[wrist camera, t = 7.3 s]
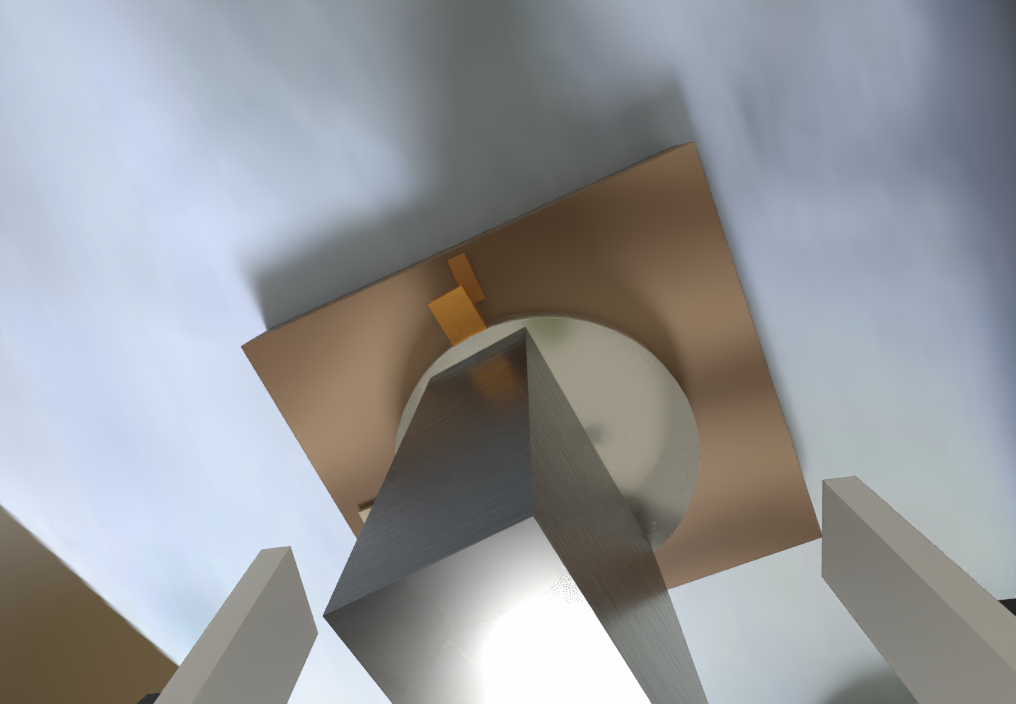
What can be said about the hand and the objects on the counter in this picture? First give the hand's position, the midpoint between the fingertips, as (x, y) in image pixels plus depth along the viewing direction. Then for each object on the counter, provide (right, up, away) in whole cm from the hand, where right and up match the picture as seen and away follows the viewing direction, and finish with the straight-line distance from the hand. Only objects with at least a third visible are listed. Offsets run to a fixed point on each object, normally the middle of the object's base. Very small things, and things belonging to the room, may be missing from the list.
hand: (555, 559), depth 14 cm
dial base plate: (0, +2, +8) cm, 8 cm away
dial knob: (0, +2, +5) cm, 6 cm away
